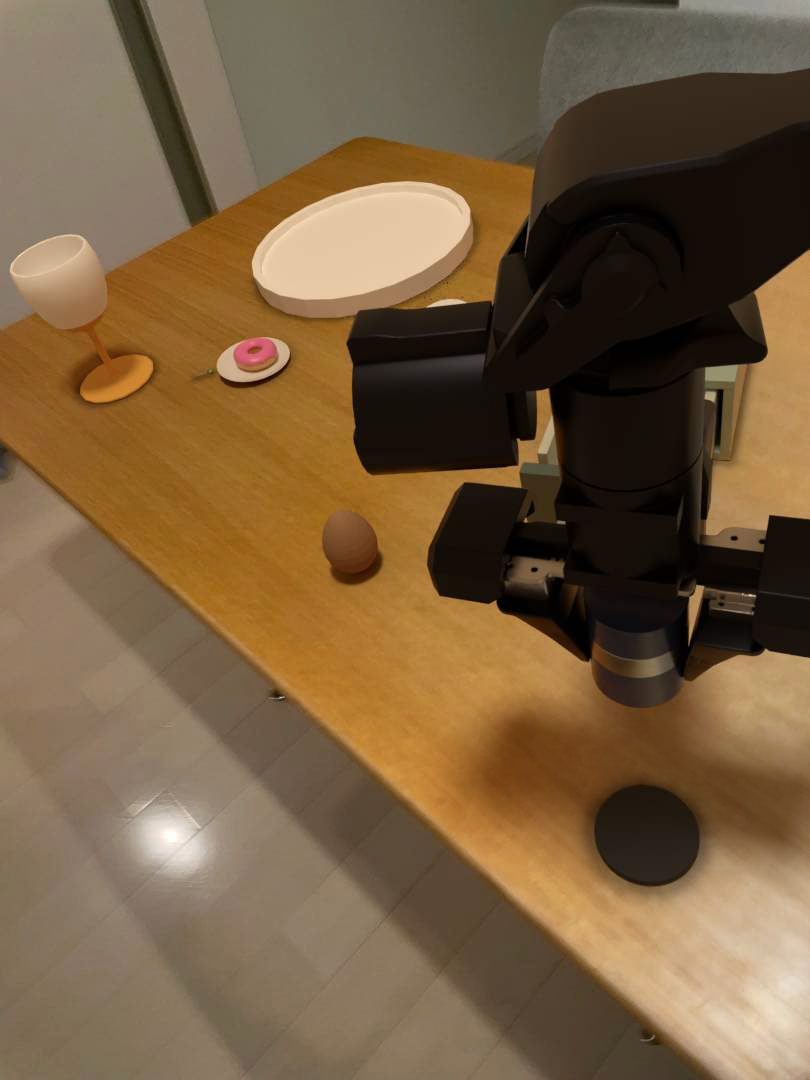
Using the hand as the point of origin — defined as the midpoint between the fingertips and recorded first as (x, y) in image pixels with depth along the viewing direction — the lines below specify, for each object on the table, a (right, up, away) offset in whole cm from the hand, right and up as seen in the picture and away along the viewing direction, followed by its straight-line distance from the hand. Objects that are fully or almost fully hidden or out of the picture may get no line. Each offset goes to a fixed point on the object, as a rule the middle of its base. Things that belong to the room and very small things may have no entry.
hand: (638, 664), depth 46 cm
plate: (-17, +42, +63) cm, 78 cm away
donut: (-30, +26, +51) cm, 64 cm away
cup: (-46, +25, +55) cm, 76 cm away
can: (0, 0, +1) cm, 1 cm away
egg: (-16, +4, +26) cm, 31 cm away
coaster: (+2, -11, +6) cm, 13 cm away
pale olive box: (+10, +20, +32) cm, 39 cm away
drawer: (+5, +10, +24) cm, 26 cm away
